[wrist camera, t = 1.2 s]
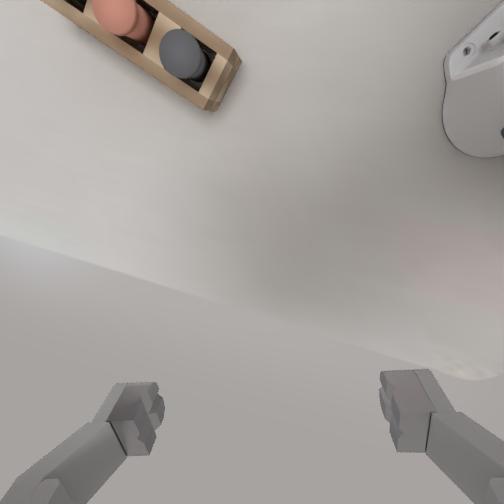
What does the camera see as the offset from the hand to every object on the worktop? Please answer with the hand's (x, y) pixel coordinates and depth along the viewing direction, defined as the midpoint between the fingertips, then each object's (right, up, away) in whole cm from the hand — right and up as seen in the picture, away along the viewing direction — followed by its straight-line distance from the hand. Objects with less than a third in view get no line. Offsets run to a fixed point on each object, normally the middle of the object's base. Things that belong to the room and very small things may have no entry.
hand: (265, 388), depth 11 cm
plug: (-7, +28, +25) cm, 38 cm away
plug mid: (-13, +31, +24) cm, 41 cm away
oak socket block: (-13, +33, +28) cm, 45 cm away
